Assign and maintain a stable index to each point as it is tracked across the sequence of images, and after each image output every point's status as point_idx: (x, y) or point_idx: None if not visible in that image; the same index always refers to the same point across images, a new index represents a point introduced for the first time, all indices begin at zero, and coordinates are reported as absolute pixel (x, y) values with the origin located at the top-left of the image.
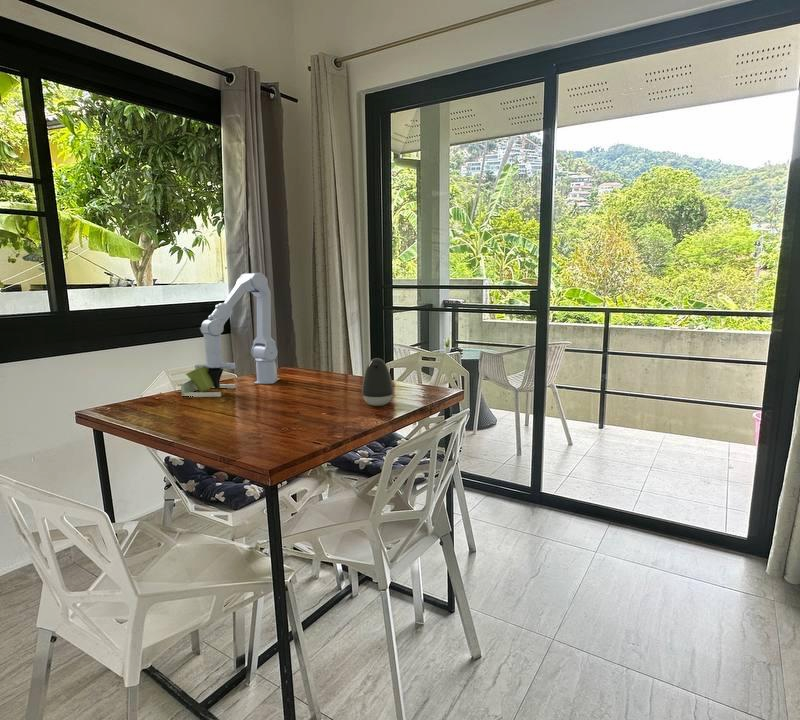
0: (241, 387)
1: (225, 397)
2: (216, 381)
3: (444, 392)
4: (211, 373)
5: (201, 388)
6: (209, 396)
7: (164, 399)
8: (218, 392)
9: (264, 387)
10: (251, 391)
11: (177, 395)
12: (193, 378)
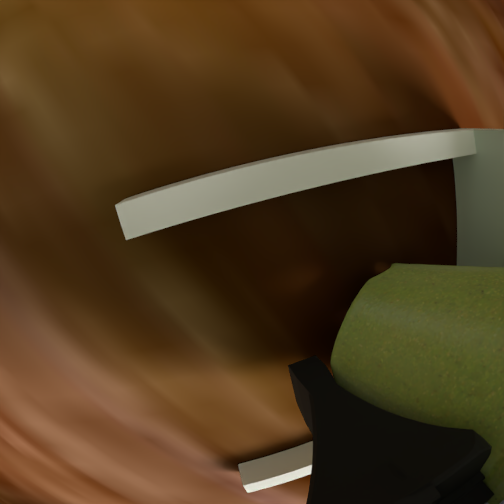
0: (210, 485)
1: (51, 187)
2: (313, 410)
3: None
4: (423, 457)
5: (418, 267)
6: (245, 164)
7: (495, 68)
8: (135, 205)
9: (76, 492)
10: (42, 422)
11: None
12: None
